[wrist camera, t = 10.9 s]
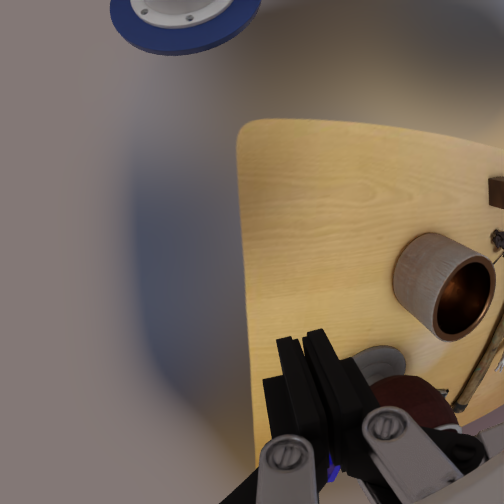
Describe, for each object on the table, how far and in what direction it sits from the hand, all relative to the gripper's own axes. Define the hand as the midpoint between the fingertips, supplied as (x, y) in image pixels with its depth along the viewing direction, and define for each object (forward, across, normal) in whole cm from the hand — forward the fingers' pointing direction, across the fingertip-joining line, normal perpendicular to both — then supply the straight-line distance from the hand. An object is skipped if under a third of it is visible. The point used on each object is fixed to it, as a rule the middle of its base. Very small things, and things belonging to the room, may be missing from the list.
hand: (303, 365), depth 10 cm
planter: (+23, -21, +10) cm, 33 cm away
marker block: (+23, -37, +2) cm, 44 cm away
